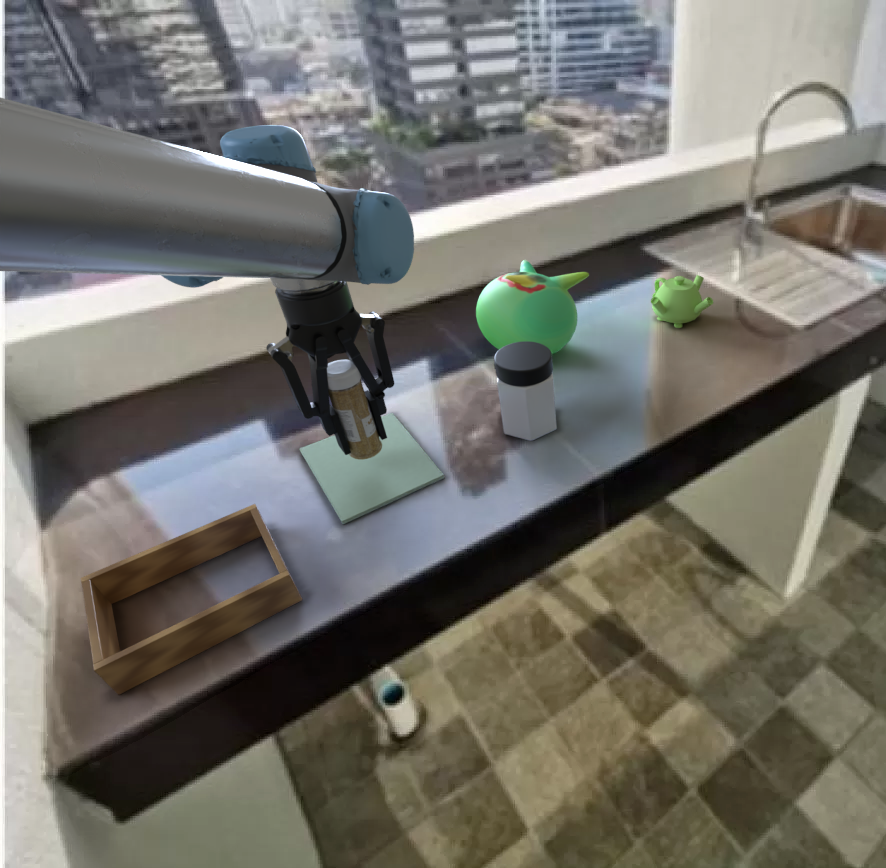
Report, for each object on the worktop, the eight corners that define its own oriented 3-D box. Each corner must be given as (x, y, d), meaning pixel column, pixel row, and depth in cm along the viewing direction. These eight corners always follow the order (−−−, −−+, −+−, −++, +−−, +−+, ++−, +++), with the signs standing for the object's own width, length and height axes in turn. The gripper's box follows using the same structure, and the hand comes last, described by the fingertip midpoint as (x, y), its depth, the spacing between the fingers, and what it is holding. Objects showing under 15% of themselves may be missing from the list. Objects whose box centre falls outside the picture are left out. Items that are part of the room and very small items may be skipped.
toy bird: (463, 352, 108) (449, 275, 99) (527, 316, 119) (520, 243, 109) (538, 386, 100) (531, 304, 90) (600, 344, 110) (599, 267, 101)
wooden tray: (118, 695, 59) (93, 670, 56) (102, 603, 67) (80, 577, 64) (302, 600, 67) (289, 574, 64) (268, 528, 75) (255, 503, 73)
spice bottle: (389, 450, 83) (364, 367, 75) (358, 465, 81) (328, 382, 72) (373, 435, 86) (347, 353, 77) (342, 450, 83) (312, 367, 75)
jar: (540, 400, 96) (534, 333, 89) (569, 425, 91) (565, 357, 84) (490, 421, 92) (480, 353, 85) (518, 448, 87) (509, 379, 80)
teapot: (645, 305, 122) (647, 265, 116) (702, 304, 122) (706, 264, 116) (649, 332, 113) (651, 291, 108) (710, 332, 113) (715, 290, 108)
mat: (444, 477, 82) (444, 474, 82) (343, 524, 76) (341, 521, 75) (392, 415, 94) (392, 412, 93) (300, 451, 87) (299, 448, 87)
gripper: (371, 251, 74) (410, 405, 89) (217, 291, 66) (288, 453, 80) (396, 270, 69) (433, 429, 84) (234, 316, 61) (307, 484, 76)
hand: (362, 441), depth 82 cm, fingers closed on spice bottle, 4 cm apart
